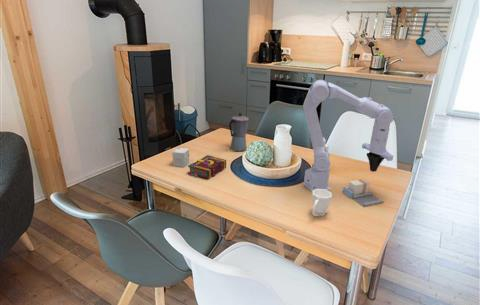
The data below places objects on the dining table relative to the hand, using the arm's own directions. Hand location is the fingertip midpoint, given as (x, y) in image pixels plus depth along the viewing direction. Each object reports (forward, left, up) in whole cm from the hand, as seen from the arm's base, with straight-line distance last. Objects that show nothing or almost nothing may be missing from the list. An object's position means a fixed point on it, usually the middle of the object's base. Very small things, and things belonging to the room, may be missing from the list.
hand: (373, 170), depth 128 cm
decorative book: (-57, +41, -10) cm, 71 cm away
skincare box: (-67, +53, -10) cm, 86 cm away
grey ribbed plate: (-6, -3, -10) cm, 12 cm away
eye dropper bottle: (+1, +36, -10) cm, 37 cm away
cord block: (-5, 0, -9) cm, 11 cm away
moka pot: (-34, +63, -10) cm, 72 cm away
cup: (-29, -7, -10) cm, 31 cm away
